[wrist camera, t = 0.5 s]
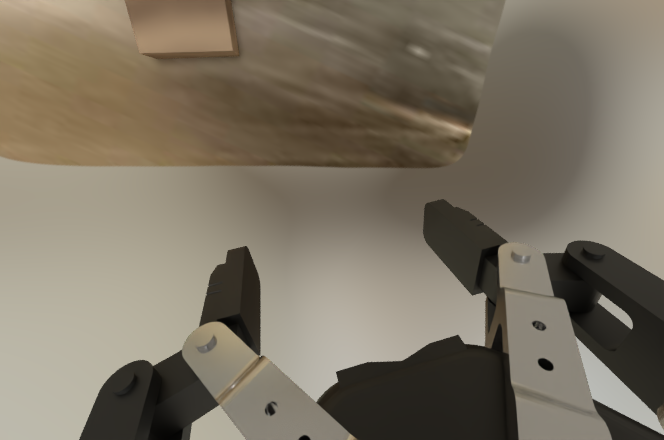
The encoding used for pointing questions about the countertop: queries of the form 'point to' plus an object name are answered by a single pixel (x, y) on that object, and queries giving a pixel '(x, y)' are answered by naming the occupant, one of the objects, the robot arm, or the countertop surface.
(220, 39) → the walnut block
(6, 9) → the countertop surface
